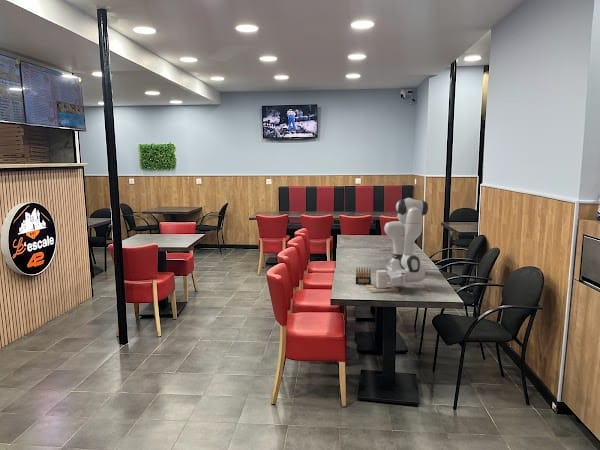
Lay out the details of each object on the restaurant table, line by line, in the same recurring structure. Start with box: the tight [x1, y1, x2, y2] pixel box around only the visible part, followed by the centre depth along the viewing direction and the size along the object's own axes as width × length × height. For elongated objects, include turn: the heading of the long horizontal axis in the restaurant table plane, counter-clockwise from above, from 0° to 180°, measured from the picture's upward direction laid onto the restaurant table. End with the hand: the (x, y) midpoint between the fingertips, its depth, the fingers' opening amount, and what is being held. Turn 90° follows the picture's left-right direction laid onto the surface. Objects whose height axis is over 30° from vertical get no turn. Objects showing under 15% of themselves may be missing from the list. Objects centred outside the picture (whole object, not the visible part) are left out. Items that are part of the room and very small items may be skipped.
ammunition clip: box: [355, 266, 372, 285], centre depth 309 cm, size 11×2×12 cm, turn 80°
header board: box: [364, 283, 399, 294], centre depth 297 cm, size 16×18×1 cm
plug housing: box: [375, 269, 388, 288], centre depth 296 cm, size 5×6×11 cm
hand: (380, 277), depth 296 cm, fingers open, 6 cm apart
